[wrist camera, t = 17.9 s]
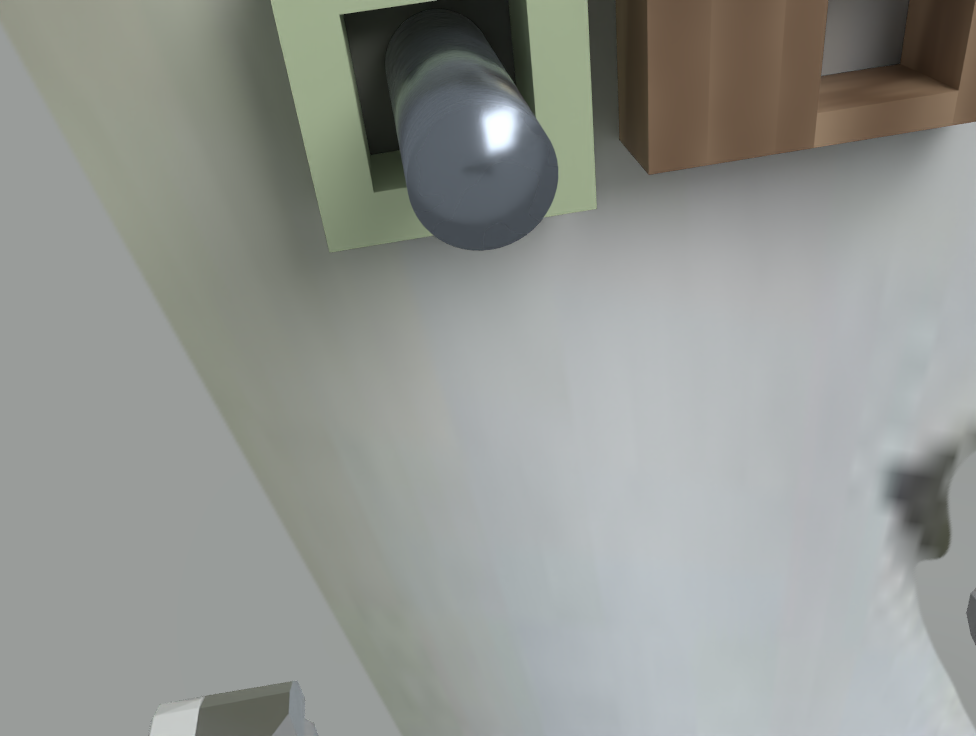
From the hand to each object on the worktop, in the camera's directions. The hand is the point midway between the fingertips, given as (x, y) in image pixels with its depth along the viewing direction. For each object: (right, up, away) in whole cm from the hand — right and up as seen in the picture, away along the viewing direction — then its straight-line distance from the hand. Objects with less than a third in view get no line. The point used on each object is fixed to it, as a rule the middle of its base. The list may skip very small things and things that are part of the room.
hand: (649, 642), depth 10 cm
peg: (-4, +15, +23) cm, 27 cm away
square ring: (-4, +15, +23) cm, 27 cm away
